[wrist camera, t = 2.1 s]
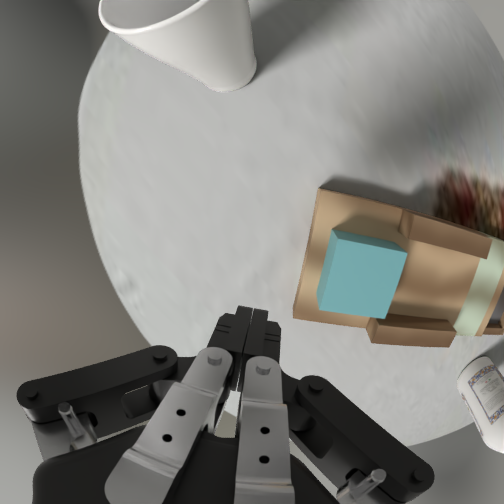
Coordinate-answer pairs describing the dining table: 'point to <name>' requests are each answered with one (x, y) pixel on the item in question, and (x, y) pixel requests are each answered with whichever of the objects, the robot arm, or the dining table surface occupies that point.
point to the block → (359, 274)
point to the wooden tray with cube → (411, 273)
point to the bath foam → (485, 400)
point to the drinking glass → (189, 36)
